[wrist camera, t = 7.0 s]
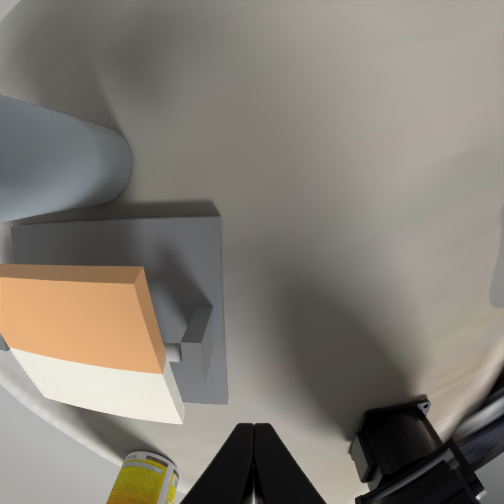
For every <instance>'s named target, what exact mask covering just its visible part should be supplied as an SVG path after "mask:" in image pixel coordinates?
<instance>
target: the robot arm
mask: <svg viewBox="0 0 504 504" xmlns="http://www.w3.org/2000/svg"><path fill="white" fill-rule="evenodd" d="M430 405H431V403H430V401H429V400H428V399H426V400H422V401H417V402H413V403H408V404H403V405H398V406H393V407H387V408H381V409H375V410H369V411H367V412H365V413H364V415H363V418H362V422H361V425H360V429H359V431H358V432H357V433H356V436H355V439H354V442H353V445H352V449H351V453H352V454H351V458H352V460H353V461H354V462H355V465H356V468H357V472H358V475H359V478H360V481H361V482H362V483H367V484H368V487H369V490H370V492H368V493H366V494H364V495H360V496H358V497H356V498H355V504H481V503H480V501H479V500H480V499H482V498H483V497H484V496H486V495H487V493H486V491H485V489H484V487H483V486H482V484H481V482H480V481H479V479H478V478H477V476H476V474H475V473H474V471H473V470H472V468H471V466H470V465H469V463H468V462H467V460H466V459H465V457H464V456H463V454H462V453H461V451H460V450H459V448H458V447H457V445H456V444H455V442H454V441H453V439H452V438H449V439H448V440H447V441H446V443H445V444H443V442H442V441H441V439H440V437H439V436H438V434H437V433H436V431H435V430H434V428H433V427H432V425H431V423H430V422H429V420H428V419H427V417H426V415H427V413H428V411H429V408H430ZM253 494H254V497H255V504H326V502H325V501H324V500H323V498H322V497H321V496H320V494H319V493H318V492H317V490H316V489H315V488H314V486H313V485H312V483H311V482H310V481H309V479H308V478H307V477H306V475H305V474H304V472H303V471H302V470H301V468H300V467H299V465H298V464H297V462H296V461H295V460H294V458H293V457H292V455H291V454H290V452H289V451H288V449H287V448H286V446H285V445H284V443H283V442H282V440H281V439H280V437H279V436H278V434H277V433H276V431H275V430H274V428H273V427H272V425H271V424H269V423H256V424H255V425H253V424H252V423H239V424H237V425H236V427H235V428H234V430H233V431H232V433H231V434H230V436H229V437H228V439H227V440H226V441H225V443H224V444H223V446H222V447H221V449H220V450H219V451H218V453H217V454H216V456H215V457H214V458H213V460H212V461H211V463H210V464H209V465H208V467H207V468H206V470H205V471H204V472H203V474H202V475H201V476H200V478H199V479H198V480H197V482H196V483H195V484H194V486H193V487H192V488H191V490H190V491H189V492H188V494H187V495H186V496H185V497H184V499H183V500H182V501H181V502H180V504H252V502H253Z"/></svg>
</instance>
